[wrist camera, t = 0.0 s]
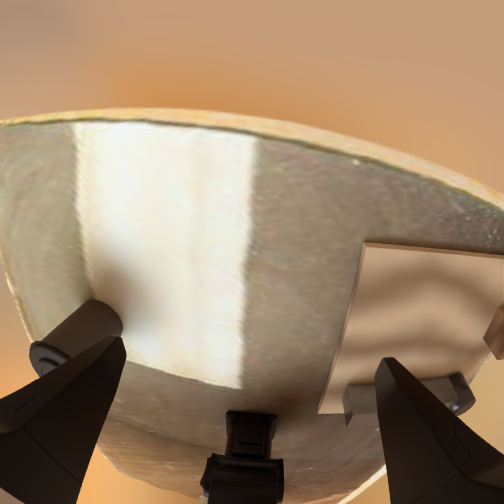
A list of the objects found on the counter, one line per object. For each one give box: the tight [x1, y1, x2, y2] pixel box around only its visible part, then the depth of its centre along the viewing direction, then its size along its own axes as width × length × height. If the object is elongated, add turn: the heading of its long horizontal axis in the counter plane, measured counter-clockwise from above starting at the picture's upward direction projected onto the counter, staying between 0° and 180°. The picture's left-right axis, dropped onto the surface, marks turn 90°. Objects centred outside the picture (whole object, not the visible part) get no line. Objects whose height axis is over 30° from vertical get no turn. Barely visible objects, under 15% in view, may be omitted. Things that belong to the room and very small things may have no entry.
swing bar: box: [342, 373, 476, 428], centre depth 26 cm, size 17×4×4 cm, turn 88°
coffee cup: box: [29, 300, 123, 377], centre depth 24 cm, size 8×8×10 cm
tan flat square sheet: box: [317, 242, 504, 414], centre depth 26 cm, size 22×22×1 cm
